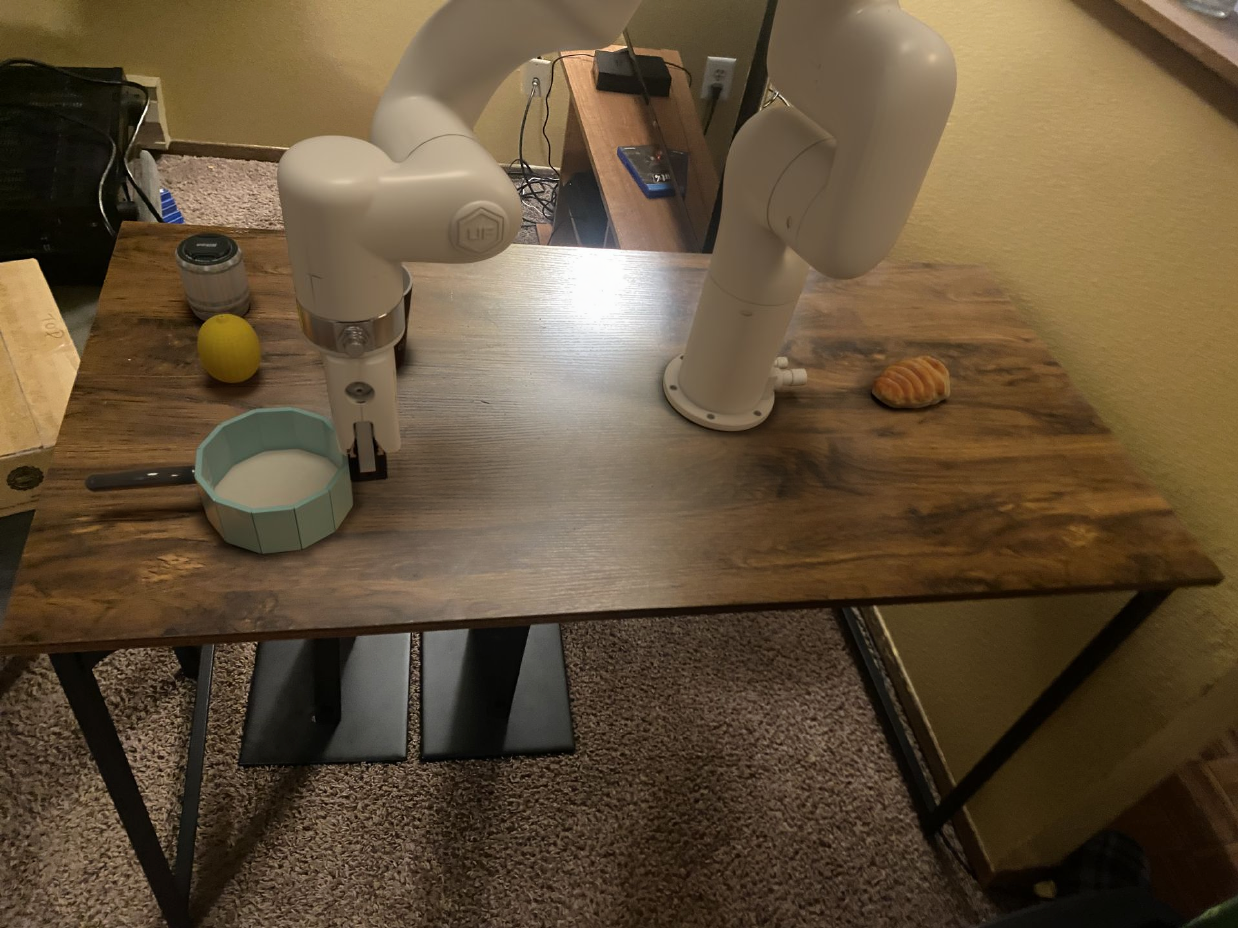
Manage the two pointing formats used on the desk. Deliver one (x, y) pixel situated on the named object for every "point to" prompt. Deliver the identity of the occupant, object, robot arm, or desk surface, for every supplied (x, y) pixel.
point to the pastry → (913, 383)
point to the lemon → (229, 348)
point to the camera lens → (213, 275)
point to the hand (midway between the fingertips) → (369, 474)
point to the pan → (260, 479)
